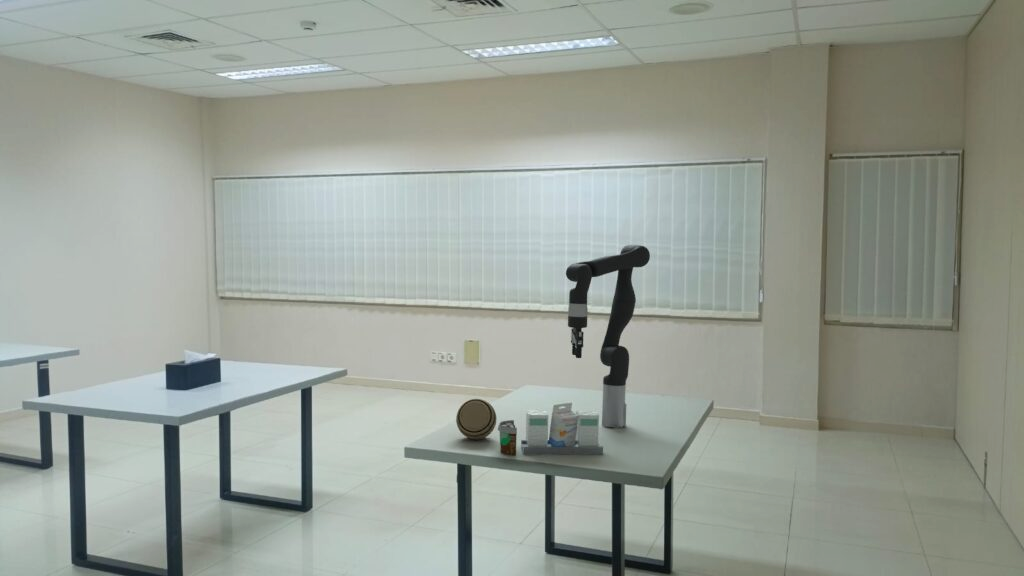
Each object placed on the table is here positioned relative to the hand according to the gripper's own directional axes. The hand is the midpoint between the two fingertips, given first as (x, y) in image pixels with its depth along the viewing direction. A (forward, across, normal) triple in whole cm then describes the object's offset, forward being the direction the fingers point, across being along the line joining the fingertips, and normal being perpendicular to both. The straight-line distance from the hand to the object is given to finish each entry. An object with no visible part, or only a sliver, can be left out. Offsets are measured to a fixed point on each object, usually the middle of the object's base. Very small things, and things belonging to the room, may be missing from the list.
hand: (576, 356), depth 288 cm
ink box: (+28, -26, +9) cm, 39 cm away
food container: (+30, -28, +29) cm, 50 cm away
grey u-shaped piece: (+30, -26, +9) cm, 41 cm away
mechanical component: (+30, -10, +39) cm, 50 cm away
